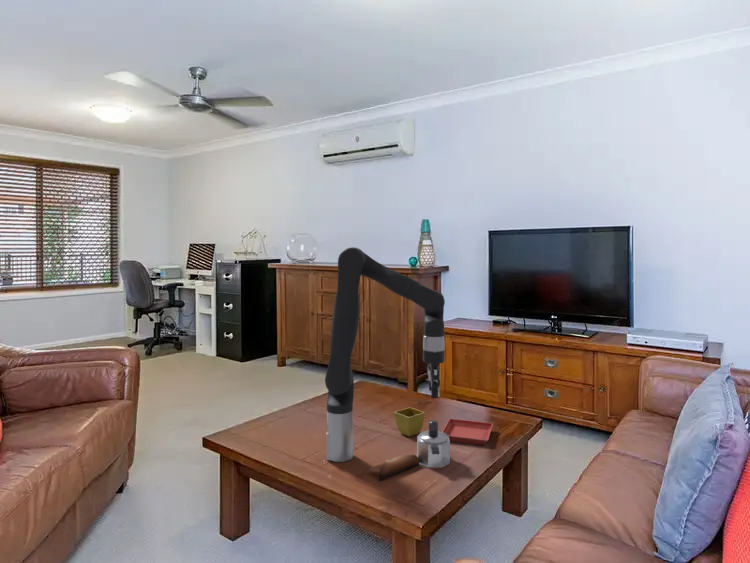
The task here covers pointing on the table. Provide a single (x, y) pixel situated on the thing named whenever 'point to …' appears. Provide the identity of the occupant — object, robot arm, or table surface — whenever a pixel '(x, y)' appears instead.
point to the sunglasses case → (393, 466)
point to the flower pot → (409, 421)
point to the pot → (433, 454)
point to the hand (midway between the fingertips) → (433, 394)
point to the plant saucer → (468, 431)
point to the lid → (433, 434)
